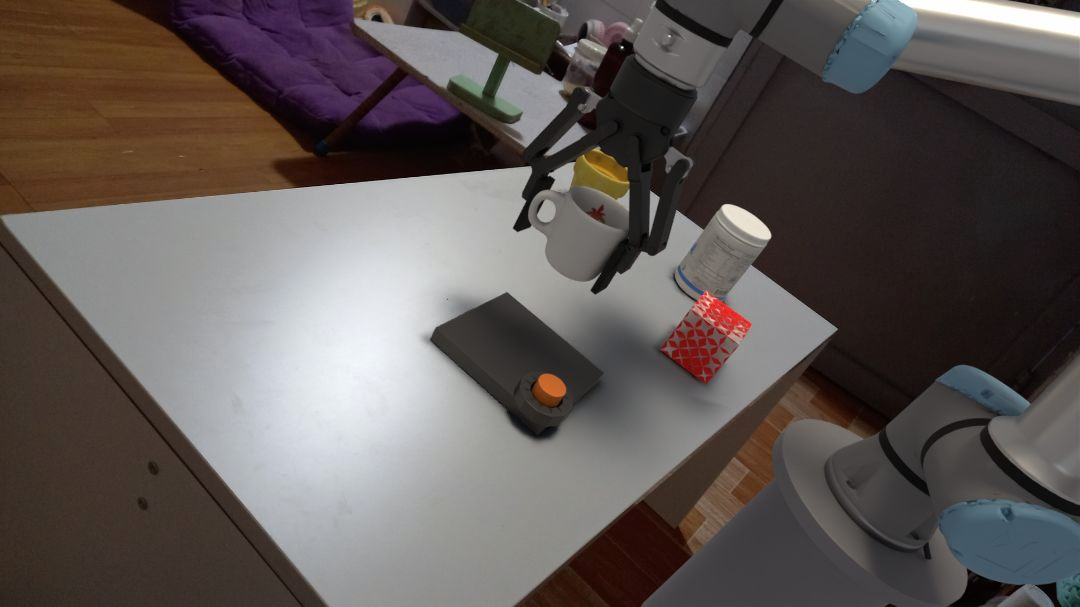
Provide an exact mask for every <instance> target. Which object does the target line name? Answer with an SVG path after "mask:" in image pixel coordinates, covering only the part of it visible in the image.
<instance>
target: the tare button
mask: <svg viewBox="0 0 1080 607" xmlns="http://www.w3.org/2000/svg"><path fill="white" fill-rule="evenodd" d="M565 394H566V387H565V384H564V383H563V382H562V381H561V380H560V379H559V378H558V377H556V376H554V375H552V374H543V375H541V376H540V377H539V378H538V380H537V382H536V383H535V385H534V386H533V388H532V395H533V397H534V398H535V399H536V400H537V401H538V402H539V403H540V404H541V405H544V406H546V407H551V408H552V407H556V406H557V405H558V404H559V403H560V401H561V400H562V398H563V397H564V395H565Z"/></svg>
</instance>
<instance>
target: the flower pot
mask: <svg viewBox="0 0 1080 607" xmlns="http://www.w3.org/2000/svg"><path fill="white" fill-rule="evenodd" d="M572 167H573V176H572V179H571V183H570V186H569V189H571V188H572V187H575V186H585V187H590V188H593V189H596V190H598V191H601V192H603V193H605V194H607V195H609V196H610V197H612V198H614V199H615V200H617V201H618V199H622V198H623V197H625V196H626V195H627V193H628V192H629V181H628V178H627V167H626V168H623V167H622V166H621V165H619V164H618V163H617V162H616V161H615V159H614V158H613V157H611V156H608V155H605V154H604V153H603V152H601V151H600V149H597V148H595V149H593V150H591V151H589V152H588V153H586V154H584V155H582V156H580V157H579V158H577V159H575V162H574V165H573V166H572Z"/></svg>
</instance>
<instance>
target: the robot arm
mask: <svg viewBox="0 0 1080 607" xmlns="http://www.w3.org/2000/svg"><path fill="white" fill-rule="evenodd" d="M739 31H743V32H744V33H747V34H748V35H749V36H751V37H752V38H754V39H757V40H758V41H761V42H762V43H764V44H766V45H767V46H769V47H771V48H772V49H774V50H775V51H777V52H778V53H780V54H782V55H783V56H784V57H786V58H788V59H790V60H792V61H793V62H795V63H797V64H798V65H800V66H802V67H804V68H805V69H807V70H809V71H810V72H812V73H813V74H815V75H817V76H819V77H820V78H822V79H821V81H823V82H825V83H830V84H833V85H835V86H837V87H839V88H841V89H843V90H845V91H846V92H849V93H851V94H861V93H864V92H866V91H868V90H870V89H871V88H872V87H874V86H875V85H876V84H877V83H878V82H880V80H881V79H882V78H884V76H885V75H886V74H887V73H888V71H890V69H892V70H896V71H902V72H908V73H913V74H917V75H923V76H926V77H932V78H938V79H943V80H947V81H952V82H957V83H961V84H962V83H963V84H968V85H973V86H978V87H982V88H986V89H987V88H988V89H993V90H996V91H1001V92H1002V91H1003V92H1009V93H1013V94H1017V95H1022V96H1028V97H1032V98H1037V99H1043V100H1048V101H1051V102H1056V103H1057V102H1058V103H1062V104H1067V105H1068V104H1069V105H1072V106H1078V107H1080V12H1078V11H1073V10H1068V9H1061V8H1057V7H1050V6H1049V7H1048V6H1043V5H1037V4H1032V3H1026V2H1021V1H1013V0H655V2H654V5H653V6H652V8H651V10H650V12H649V14H648V15H647V18H646V20H645V21H644V24H643V25H642V27H641V29H640V31H639V33H638V35H637V36H636V39H635V40H634V43H633V44H632V47H633V50H634V53H631V54H629V55H626V57H625V59H624V61H623V63H621V67H620V68H619V69H618V71H617V74H616V76H615V78H614V80H613V82H612V83H611V85H610V88H609V90H608V92H607V93H606V95H604V97H602V96H600V95H598V94H597V93H595V89H594V88H593V87H592V86H577V87H574V88H573V90H572V92H571V94H570V97H569V98H568V101H567V103H566V105H565V107H564V108H563V109H561V111H560V112H559V113H558V114H557V115H555V117H554V118H553V119H552V120H551V121H550V122H549V123H548V124H547V126H545V127H544V128H543V130H542V131H541V132H540V133H539V134H538V135H537V136H536V137H535V138H534V139H533V140H532V142H530V143H529V145H528V146H526V147H525V149H523V151H522V152H521V158H522V160H523V161H524V162H527V163H528V165H529V166H530V168H531V173H530V176H529V178H528V180H527V182H526V184H525V185H524V188H523V190H522V192H521V198H522V199H523V200H524V201H525V202H524V204H523V206H522V208H521V210H520V213H519V215H518V217H517V218H516V220H515V222H514V224H513V226H512V230H514V231H515V232H516V233H519V232H523V231H525V230H528V229H531V227H533V226H532V225H531V223H530V221H529V217H528V212H529V207H530V205H531V202H532V200H533V199H534V197H535V196H536V195H537V194H538V193H539V192H541V191H543V190H552V188H553V185H554V183H555V182H556V178H554V177H553V176H551V175H550V174H551V173H555V172H556V170H559V169H560V168H562V167H564V166H566V165H568V164H569V163H571V162H573V161H576V160H577V158H579V157H580V156H582V155H584V154H586V153H588V152H589V151H591V150H593V149H597V148H599V150H600V151H601V152H603V153H604V154H605V155H608V156H611V157H613V158H614V159H615V161H616V162H617V163H618V164H619V165H621V166H622V167H623V168H626V167H627V178H628V181H629V190H628V196H629V197H628V211H629V238H628V239H626V240H624V241H622V242H620V243H619V245H618V247H617V248H616V250H615V251H614V253H613V255H612V256H611V258H610V259H609V261H608V263H607V264H606V266H605V267H604V269H603V271H602V272H601V273H600V274H599V275H598V276H597V278H596V280H595V282H594V283H593V285H592V286H591V288H590V290H589V291H590V292H591V293H592V294H594V295H598V294H599V293H602V291H605V290H606V289H607V288H608V287H609V285H610V284H611V282H612V281H613V279H614V277H615V276H616V274H617V273H618V274H619V275H622V274H624V273H626V272H627V271H629V270H631V268H632V267H633V266H634V264H635V262H636V261H637V259H638V258H639V256H640V255H641V253H646V254H647V255H648V256H649V257H655V256H657V255H658V254H660V253H662V252H663V251H664V250H666V248H667V246H668V243H669V239H670V235H671V233H672V232H671V231H672V228H673V224H674V222H675V217H676V213H677V211H678V206H679V203H680V199H681V195H682V192H683V188H684V185H685V182H686V180H687V178H688V177H689V176H690V174H691V173H692V171H693V170H694V169H695V167H696V165H697V161H696V159H695V157H694V156H685V155H684V153H683V154H682V153H681V151H679V150H677V149H676V148H675V147H674V141H675V135H676V134H677V133H678V131H679V129H680V128H681V126H682V124H683V123H684V121H685V120H686V117H687V116H688V114H689V113H690V112H691V110H692V108H693V106H694V105H695V103H696V102H697V100H698V97H699V96H698V91H697V89H700V88H704V87H706V86H707V83H708V82H709V80H710V79H711V77H712V75H713V73H714V72H715V71H716V69H717V67H718V65H719V63H720V61H721V60H722V58H723V57H724V55H725V54H726V51H727V50H728V49H729V47H730V46H731V44H732V42H733V41H734V38H735V37H736V35H737V34H738V33H739ZM593 110H594V112H595V123H596V124H595V126H596V127H595V129H594V130H592V131H590V132H588V133H587V134H585V135H583V136H581V137H580V138H579V139H578V140H575V141H574V142H572V143H571V144H568V145H567V146H565V147H563V148H561V149H560V150H558V151H557V152H555V153H553V154H551V155H550V156H547V157H545V156H546V154H547V153H548V152H549V151H550V150H551V149H552V148H553V147H554V146H555V145H556V144H557V143H558V142H559V141H560V140H561V139H562V138H563V137H564V136H565V135H566V134H567V133H568V132H569V131H570V130H571V128H573V127H574V126H575V125H576V124H577V122H579V120H581V119H582V118H583V117H584V116H585V114H588V113H591V112H592V111H593ZM662 158H664V159H665V161H666V163H665V166H664V170H665V173H666V174H667V175H666V176H665V179H664V181H663V184H662V187H661V191H660V195H659V198H658V202H657V205H656V210H655V214H654V217H653V221H652V225H651V229H650V220H651V218H650V217H651V181H652V177H653V172H654V171H653V170H654V161H657V160H660V159H662ZM545 201H546V200H543V201H541V203H540V204H539V206H538V208H537V215H538V214H539V212H540V210H541V208H542V206H543V204H544V202H545ZM824 472H825V477H826V481H827V483H828V486H829V488H830V490H831V492H832V494H833V495H834V497H835V499H836V500H837V502H838V503H839V505H840V506H841V507H842V509H843V510H844V511H845V512H846V513H847V515H848V516H849V517H850V518H851V519H852V520H853V521H854V522H855V523H856V524H857V525H858V526H859V527H860V528H861V529H862V530H864V531H865V532H866V533H867V534H869V535H870V536H871V537H873V538H874V539H875V540H877V541H878V542H880V543H882V544H883V545H885V546H887V547H889V548H891V549H894V550H896V551H900V552H905V553H912V552H915V551H917V550H919V549H920V548H922V547H923V550H924V555H925V559H927V560H930V559H932V558H931V553H930V548H929V540H930V539H931V538H932V536H933V535H934V533H935V531H936V530H937V528H938V527H939V530H940V532H941V533H942V535H943V536H944V537H945V540H946V543H947V545H948V548H949V550H950V551H951V553H952V554H953V556H954V557H955V558H956V559H957V560H958V561H959V562H960V563H961V564H962V565H963V566H965V567H966V568H967V570H969V571H971V572H973V573H974V574H976V575H979V576H981V577H982V578H983V577H984V578H985V579H988V580H992V581H994V582H995V581H996V582H999V583H1003V584H1009V585H1015V586H1016V585H1018V586H1022V585H1032V586H1039V585H1048V584H1053V583H1058V582H1060V581H1064V580H1067V579H1068V578H1071V577H1073V576H1074V575H1076V574H1078V573H1079V572H1080V353H1079V354H1078V355H1077V356H1076V357H1075V358H1074V359H1073V360H1072V361H1071V363H1069V364H1068V365H1067V366H1066V368H1064V369H1063V370H1062V371H1061V373H1059V375H1058V376H1057V377H1055V379H1054V380H1052V382H1051V383H1050V384H1049V385H1048V386H1047V387H1046V388H1045V389H1044V390H1043V391H1042V392H1041V393H1039V395H1038V396H1037V397H1036V398H1035V399H1033V401H1032V402H1031V403H1030V402H1029V401H1028V400H1027V399H1026V398H1024V397H1023V396H1022V395H1020V394H1019V393H1018V392H1016V391H1015V390H1014V389H1013V388H1011V387H1009V386H1008V385H1007V384H1004V383H1003V382H1002V381H1000V379H997V378H996V377H994V376H993V375H991V374H988V373H987V372H985V371H983V370H981V369H979V368H977V367H975V366H971V365H966V364H959V365H956V366H954V367H953V366H952V368H951V369H948V371H946V372H944V373H943V374H942V375H940V376H939V377H937V378H936V379H935V380H934V382H933V383H932V384H931V385H930V386H928V387H927V388H926V390H924V391H923V392H922V393H921V394H920V395H918V397H916V398H915V399H914V400H913V401H912V402H911V403H910V404H909V405H907V407H905V408H904V409H903V410H902V411H901V412H899V414H897V416H895V417H894V418H893V419H892V420H891V421H890V422H888V423H887V425H886V426H884V427H883V428H882V429H880V431H878V432H877V433H876V434H874V435H871V436H869V437H866V438H863V440H861V441H858V442H856V443H853V444H851V445H848V446H846V447H843V448H841V449H839V450H837V451H836V452H835V453H834V454H832V455H831V456H830V457H829V458H828V459H827V460H826V462H825V466H824Z"/></svg>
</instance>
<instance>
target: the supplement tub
mask: <svg viewBox="0 0 1080 607" xmlns="http://www.w3.org/2000/svg"><path fill="white" fill-rule="evenodd" d="M771 239H772V233H771V231H770V229H769V228H768V226H767V225H766V224H765V223H764V222H763V221H762V220H760V219H759V218H758V217H757V216H756V215H754V214H753V213H751V212H749V211H748V210H746V209H744V208H742V207H740V206H737V205H734V204H729V203H726V204H723V205H721V206H720V208H719V209H718V210H717V211H716V212H715V214H714V215H713V216H712V218H711V219H710V220H709V222H708V223H707V225H706V226H705V228H704V229H703V230H702V231H701V234H700V235H699V236H698V238H697V239H696V240H695V242H694V243H693V245H692V246H691V248H690V249H689V250H688V252H687V253H686V255H685V256H684V258H683V259H682V260H681V262H680V263H679V265H678V266H677V267H676V269H675V271H674V278H675V280H676V284H678V286H679V287H680V288H681V290H682V291H684V293H686V294H687V295H688V296H690V298H692V299H694V300H695V301H696V302H697V301H698V300H699V299H700V297H701V296H702V295H703V294H704V293H705V292H706V291H707V292H709V293H710V294H712V295H713V296H714V297H716V298H717V299H718V300H720V301H721V302H723V301H724V300H725V299H726V298H727V296H728V294H729V293H730V292H731V291H732V289H733V288H734V287H735V286H736V285H737V283H738V282H739V281H740V279H741V278H742V277H743V275H744V274H745V273H746V272H747V271H748V269H749V268H750V267H751V266H752V264H753V263H754V262H755V261H756V259H757V258H758V257H759V256H760V254H761V253H762V252H763V250H765V248H766V247H767V245H768V243H769V241H770V240H771Z"/></svg>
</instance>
